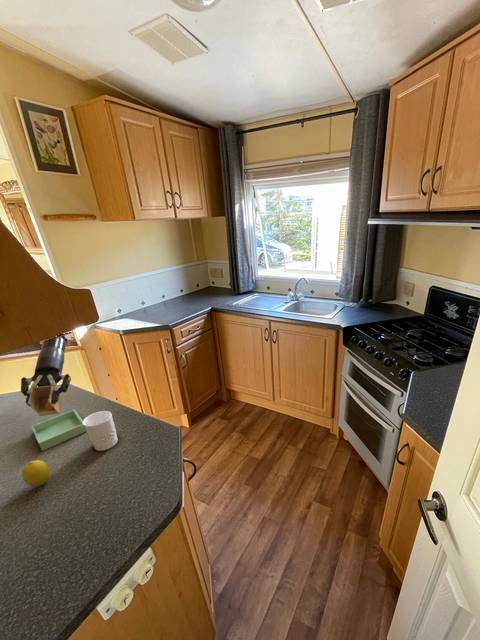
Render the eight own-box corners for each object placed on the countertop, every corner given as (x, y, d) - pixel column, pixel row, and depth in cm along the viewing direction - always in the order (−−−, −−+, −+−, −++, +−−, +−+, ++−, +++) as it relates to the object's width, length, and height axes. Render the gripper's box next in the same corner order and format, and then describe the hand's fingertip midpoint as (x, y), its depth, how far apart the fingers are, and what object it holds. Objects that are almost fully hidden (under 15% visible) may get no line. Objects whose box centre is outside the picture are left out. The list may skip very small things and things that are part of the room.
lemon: (58, 481, 80) (47, 458, 76) (35, 495, 76) (23, 473, 72) (48, 473, 83) (37, 451, 79) (25, 487, 78) (13, 465, 75)
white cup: (91, 455, 88) (80, 429, 84) (93, 440, 95) (84, 415, 91) (119, 447, 91) (110, 421, 87) (120, 433, 98) (112, 408, 94)
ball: (45, 406, 98) (49, 412, 97) (41, 402, 96) (45, 408, 95) (54, 401, 100) (58, 407, 99) (51, 397, 98) (55, 402, 97)
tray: (42, 450, 91) (38, 443, 90) (34, 433, 100) (30, 426, 99) (87, 430, 100) (85, 423, 99) (76, 415, 108) (74, 409, 107)
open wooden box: (43, 400, 101) (31, 387, 94) (62, 398, 103) (52, 385, 96) (39, 416, 98) (27, 403, 91) (59, 414, 100) (49, 401, 93)
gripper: (21, 357, 98) (8, 401, 88) (70, 354, 102) (63, 395, 93) (30, 370, 103) (20, 412, 94) (77, 366, 108) (71, 406, 99)
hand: (41, 404), depth 94 cm, fingers closed on open wooden box, 5 cm apart
